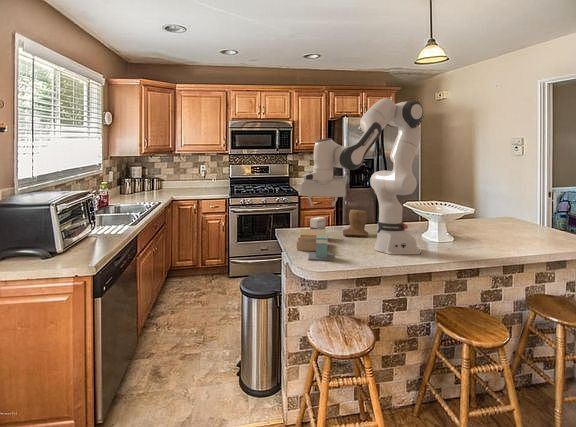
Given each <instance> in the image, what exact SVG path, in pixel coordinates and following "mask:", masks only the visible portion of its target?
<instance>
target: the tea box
mask: <svg viewBox="0 0 576 427" xmlns="http://www.w3.org/2000/svg"><path fill="white" fill-rule="evenodd" d="M328 238H329V237H328V235H327V234H326V235H317V237H316V251H315V252H316V257H321V258H327V253H328V241H329V240H328Z"/></svg>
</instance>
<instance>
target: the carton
mask: <svg viewBox="0 0 576 427" xmlns="http://www.w3.org/2000/svg"><path fill="white" fill-rule="evenodd" d="M317 235H327V229H325V230H317V229H309V228H301V229H300V234H299V235H298V237H297V241H296V250H297V251H303V252H304V251H306V252H316V237H317Z"/></svg>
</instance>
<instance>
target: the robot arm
mask: <svg viewBox="0 0 576 427" xmlns="http://www.w3.org/2000/svg"><path fill="white" fill-rule="evenodd" d="M423 117H424V107H423V105H422V103H420V101H416V100H408V101H401V102H398V103H395V102H394V101H393V99H391V98H389V97H383V98H381V99H379V100H378V101H376V102H375V103H374V104H372V105H371V106H370V107H369V108H368V110H367V111H366V112H365V113H364V114H363V115H362V116H361V118H360V120H359V125H360V130H362V132H363V134H361V136H360V138H359V139H358V140H357V142H356V143H355V144H352V145H349V146H346V145H345V146H344V145H343V146H342V145H341V144H339V143H336V142H335V141H334V140H333V139H332V138H327V137H326V138H322V139H318V140H316V141H315V143H314V147H313V170H312V172H308V173H306V174H304V175H302V176H303V178H302V179H303V181H302V182H301V184H300V193H299V194H300V196H301V197H307V199H308V201H309V203H310V207H315V202H314V201H312V197H321V198H323V197H325V198H330V197H331V198H332V197H333V198H334V201H333V202H331V208H335V207H336V202H337V201H338V198H344V197H346V194H347V193H346V185H347V182H348V181H347V178H346V177H345V176H344V175H340V176H339V175H334V168H339V169H345V170H346V169H347V170H350V171H354V170H357V169H359V168H360V167H361V166H362V164H363V163H364V161H365V158H366V155H367V153H368V152H370V150H371V148H372V147H373V146H374V144H375V143H376V142H377V140H378V139H379V137H380V136H381V134H382V131H383V129H384V128H385V127H386V126H387V127H391V128H395V127H397V128H398V130H397V131H398V133H397V135H396V138H395V140H394V143H393V146H392V149H391V152H390V154H389V158H390V161H391V162H392V163H393V166H392V170H379V171H375V172H373V174H371V177H370V178H369V183H370V187H371V189H373V190H374V193H375V194H376V197H377V201H378V221H377V225H376V231H377V232H376V233H377V235H376V240H375V244H374V247H373V249H374V251H377V252H380V253H385V254H388V255H421V254H420V253H422V249H421V248H420V247H419V246H418V244H417V240H416V238H415V236H413V235H412V234H411V233H410V232H409V231H407V229H408V228H409V225H408V224H406V223H404V222H403V208H404V207H403V205H402V204H401V203H400V201H399V200H398V198H397V196H409V195H412V194H413V193H414V192H415V190H416V189H417V186H418V183H417V178H416V177H415V175H414V173H413V163H414V159H415V155H416V152H417V149H418V148H419V143H420V140H421V134H422V129H421V127H420V124H421V123H422V121H423Z"/></svg>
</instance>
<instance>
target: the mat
mask: <svg viewBox="0 0 576 427" xmlns="http://www.w3.org/2000/svg"><path fill="white" fill-rule="evenodd" d="M307 260H308V261H317V262H334V252H327V258H321V257H316V251H309V254H308V259H307Z"/></svg>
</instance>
